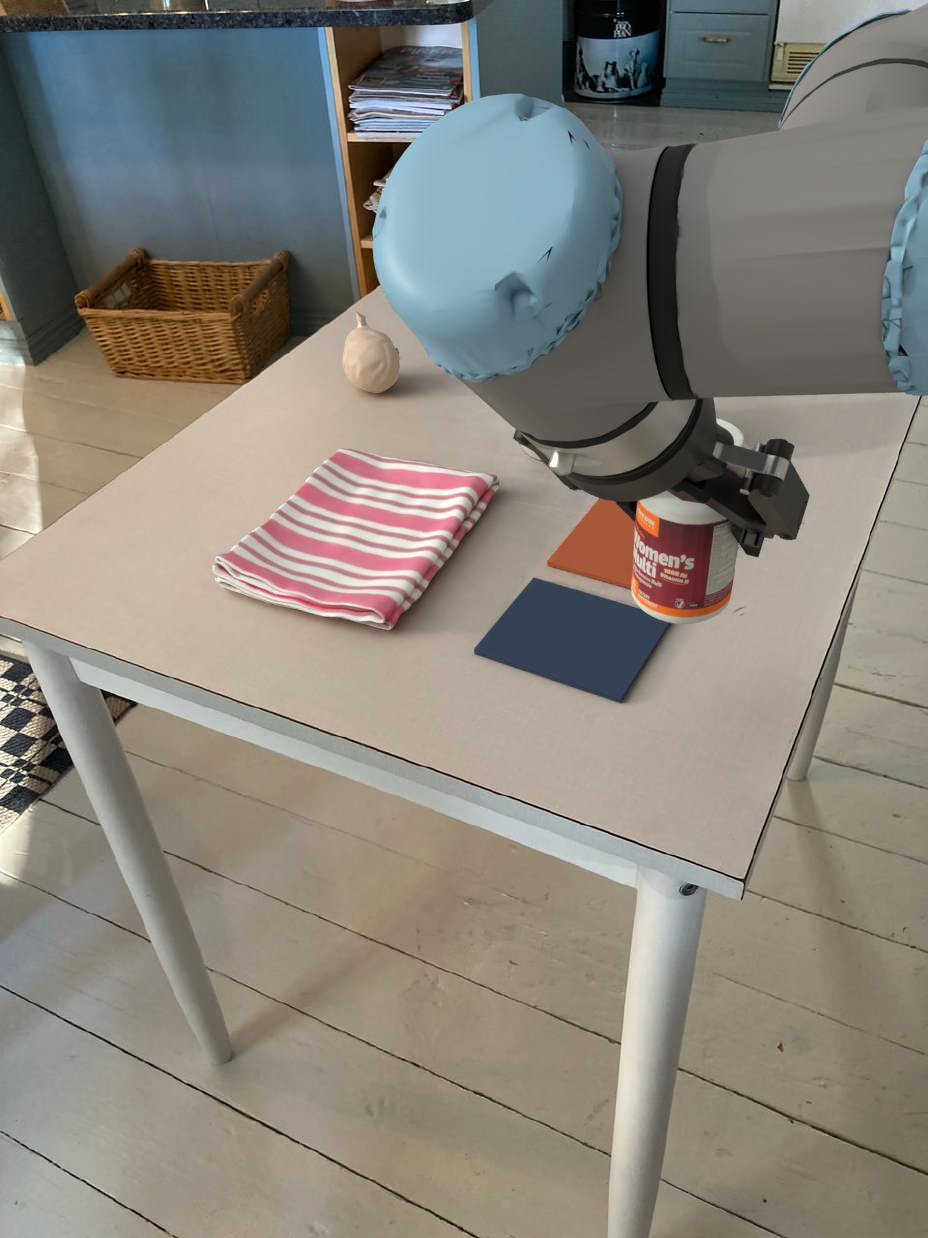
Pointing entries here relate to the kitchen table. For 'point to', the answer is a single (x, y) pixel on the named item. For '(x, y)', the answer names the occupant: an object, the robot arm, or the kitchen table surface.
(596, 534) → the terracotta mat
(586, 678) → the slate blue mat
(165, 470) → the kitchen table surface
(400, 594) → the dish towel
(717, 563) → the pill bottle
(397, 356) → the garlic bulb
